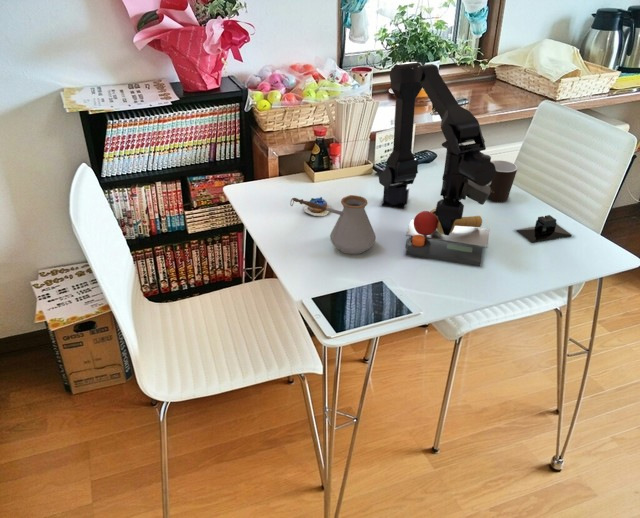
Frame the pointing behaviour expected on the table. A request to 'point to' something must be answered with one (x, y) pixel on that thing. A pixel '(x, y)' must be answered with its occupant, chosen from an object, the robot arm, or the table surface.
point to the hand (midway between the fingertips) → (448, 227)
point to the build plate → (544, 230)
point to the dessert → (314, 210)
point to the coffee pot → (349, 225)
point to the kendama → (429, 222)
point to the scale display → (459, 248)
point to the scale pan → (457, 235)
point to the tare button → (418, 240)
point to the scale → (444, 252)
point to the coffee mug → (502, 180)
